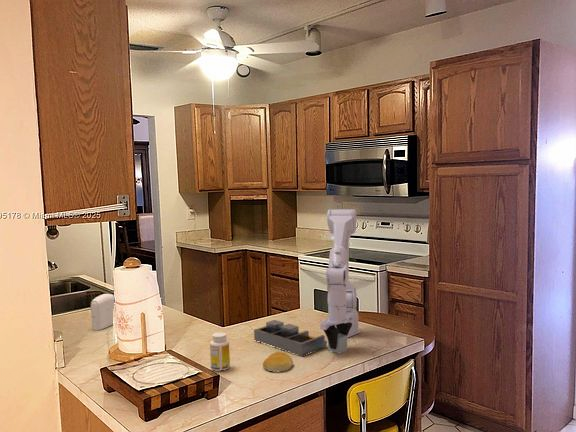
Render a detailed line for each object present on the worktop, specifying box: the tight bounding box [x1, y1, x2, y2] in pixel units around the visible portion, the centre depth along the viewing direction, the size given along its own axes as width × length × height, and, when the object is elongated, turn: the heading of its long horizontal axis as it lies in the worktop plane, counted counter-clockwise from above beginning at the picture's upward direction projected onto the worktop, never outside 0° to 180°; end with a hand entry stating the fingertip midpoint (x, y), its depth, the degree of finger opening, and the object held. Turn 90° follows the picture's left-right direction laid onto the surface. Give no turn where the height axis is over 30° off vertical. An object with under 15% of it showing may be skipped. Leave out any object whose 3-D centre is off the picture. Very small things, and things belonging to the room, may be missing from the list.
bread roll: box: [262, 351, 294, 373], centre depth 147 cm, size 8×9×4 cm
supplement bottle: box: [209, 332, 231, 372], centre depth 147 cm, size 6×6×10 cm
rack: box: [253, 319, 328, 357], centre depth 167 cm, size 12×22×6 cm, turn 46°
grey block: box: [327, 334, 348, 355], centre depth 159 cm, size 4×4×5 cm
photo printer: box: [90, 293, 115, 331], centre depth 190 cm, size 10×4×12 cm, turn 160°
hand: (337, 346), depth 159 cm, fingers closed on grey block, 4 cm apart
